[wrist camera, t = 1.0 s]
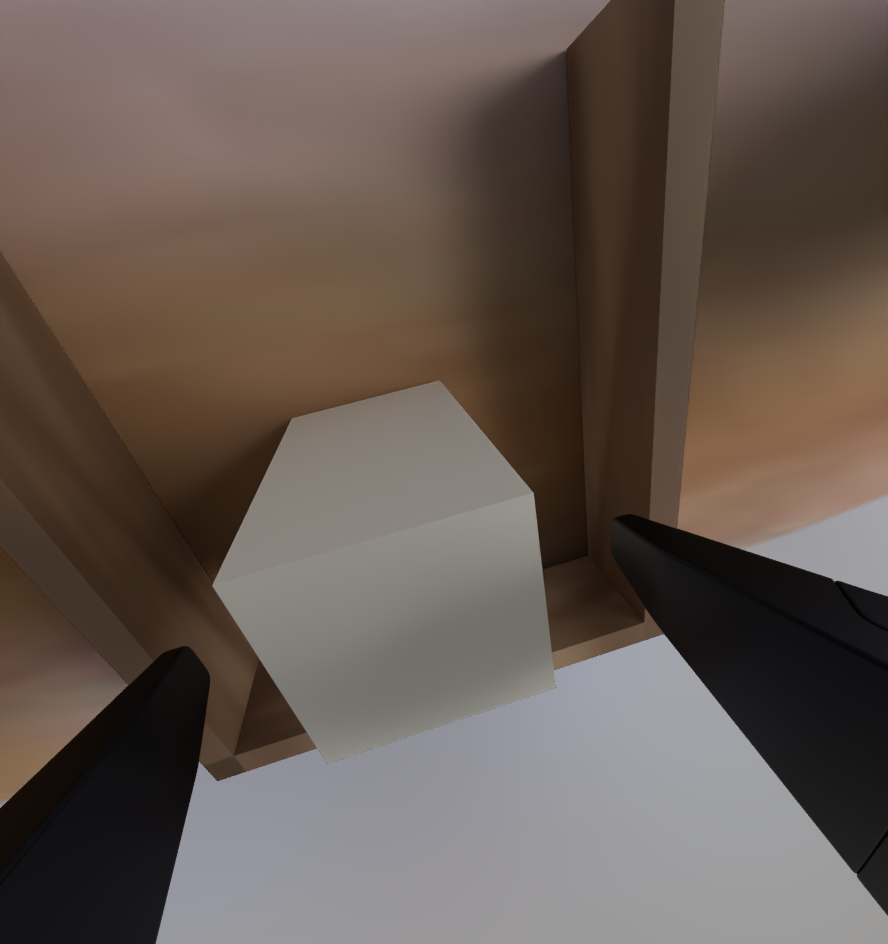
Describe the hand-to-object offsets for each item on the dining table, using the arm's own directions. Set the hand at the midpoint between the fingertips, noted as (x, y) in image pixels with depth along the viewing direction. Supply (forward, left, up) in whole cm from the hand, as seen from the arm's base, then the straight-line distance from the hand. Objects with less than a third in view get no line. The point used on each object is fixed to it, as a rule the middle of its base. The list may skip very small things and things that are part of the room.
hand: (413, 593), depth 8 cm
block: (0, 0, -7) cm, 7 cm away
